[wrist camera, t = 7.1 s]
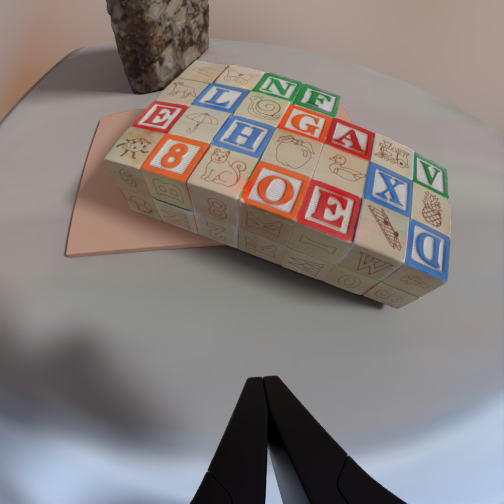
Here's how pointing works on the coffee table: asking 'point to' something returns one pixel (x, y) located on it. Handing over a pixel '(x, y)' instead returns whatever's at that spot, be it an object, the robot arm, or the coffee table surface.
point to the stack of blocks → (288, 182)
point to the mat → (122, 205)
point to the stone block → (158, 38)
